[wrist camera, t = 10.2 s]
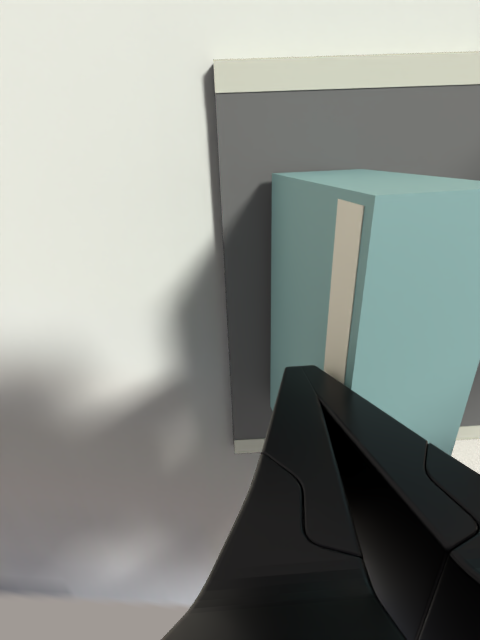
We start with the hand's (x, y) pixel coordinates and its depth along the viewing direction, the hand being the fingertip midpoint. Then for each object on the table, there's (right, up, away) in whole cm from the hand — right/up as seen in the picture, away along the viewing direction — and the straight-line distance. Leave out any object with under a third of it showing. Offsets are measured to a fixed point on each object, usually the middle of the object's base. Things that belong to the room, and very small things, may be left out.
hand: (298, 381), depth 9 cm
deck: (+1, +2, +5) cm, 5 cm away
